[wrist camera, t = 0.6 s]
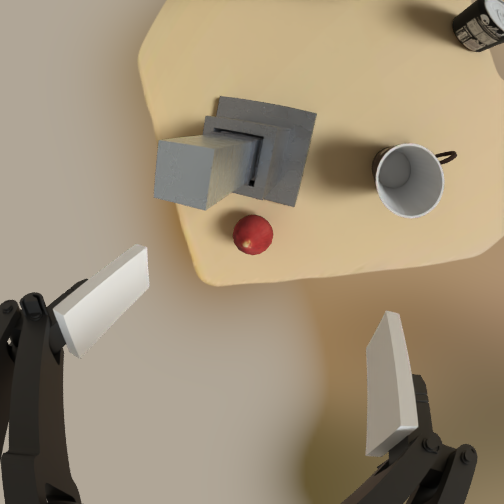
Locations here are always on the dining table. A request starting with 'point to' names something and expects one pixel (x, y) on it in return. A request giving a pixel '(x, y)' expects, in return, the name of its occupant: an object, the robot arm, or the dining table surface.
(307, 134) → the stand
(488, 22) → the beverage can
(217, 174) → the column
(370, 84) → the dining table surface
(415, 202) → the coffee mug
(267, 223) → the onion
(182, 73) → the dining table surface
